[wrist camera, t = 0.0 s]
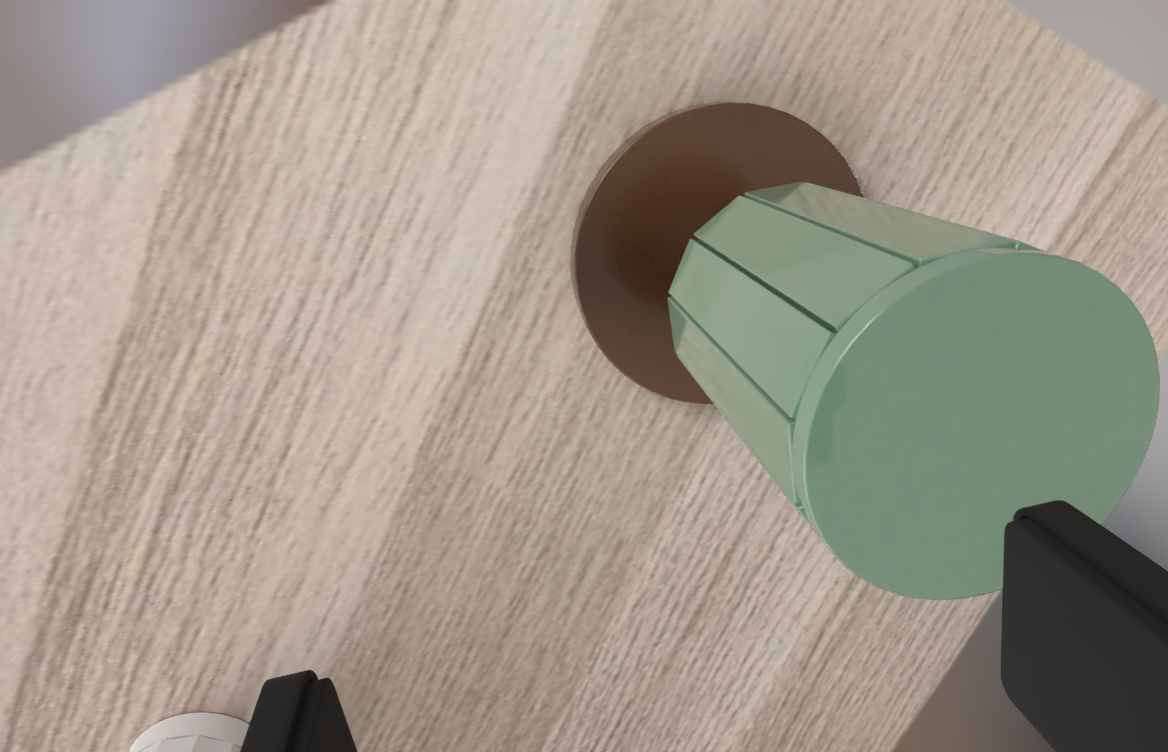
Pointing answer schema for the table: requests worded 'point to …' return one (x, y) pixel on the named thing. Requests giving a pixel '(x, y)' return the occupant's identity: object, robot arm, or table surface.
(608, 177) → the towel stand
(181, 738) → the cup
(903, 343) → the green cup
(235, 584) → the table surface
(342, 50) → the table surface
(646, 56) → the table surface
